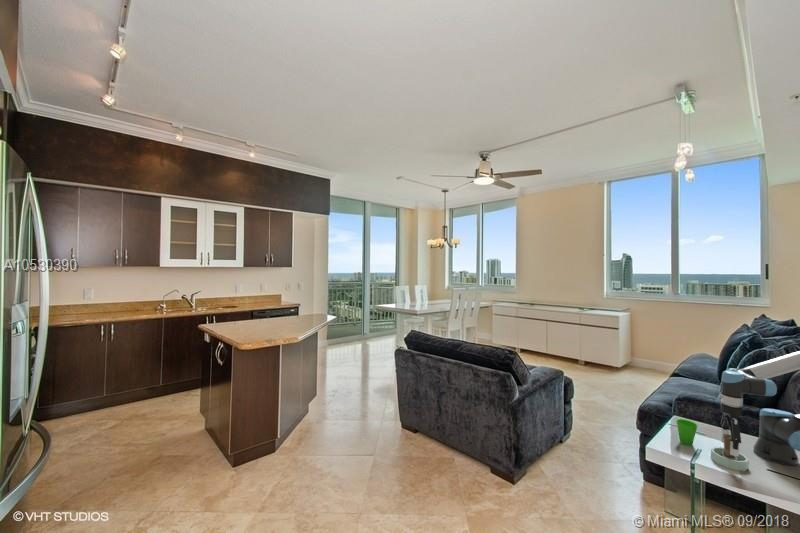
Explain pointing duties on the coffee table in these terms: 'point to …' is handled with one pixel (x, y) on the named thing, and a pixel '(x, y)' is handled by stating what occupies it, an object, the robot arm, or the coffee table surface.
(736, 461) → the pale green round dish
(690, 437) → the cup
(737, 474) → the coffee table surface
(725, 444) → the block
